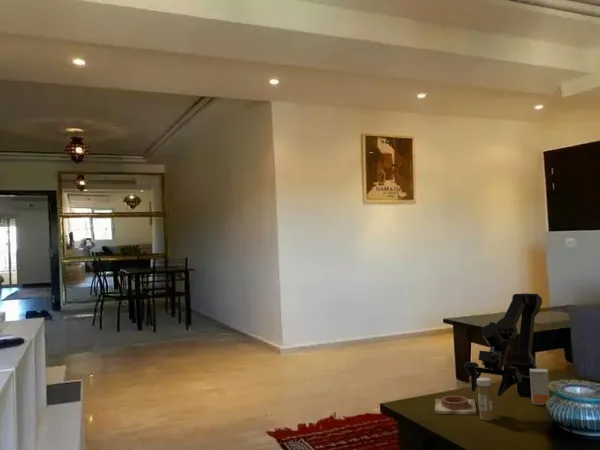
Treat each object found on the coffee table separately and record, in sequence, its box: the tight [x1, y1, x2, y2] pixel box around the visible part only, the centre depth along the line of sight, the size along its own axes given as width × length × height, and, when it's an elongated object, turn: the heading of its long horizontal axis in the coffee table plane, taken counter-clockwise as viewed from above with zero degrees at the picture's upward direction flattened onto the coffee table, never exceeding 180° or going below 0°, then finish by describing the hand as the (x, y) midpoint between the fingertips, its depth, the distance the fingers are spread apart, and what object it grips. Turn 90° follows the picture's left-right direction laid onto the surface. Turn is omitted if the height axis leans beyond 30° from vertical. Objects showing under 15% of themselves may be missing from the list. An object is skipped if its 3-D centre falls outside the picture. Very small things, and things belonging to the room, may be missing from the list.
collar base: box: [434, 395, 478, 415], centre depth 191 cm, size 14×14×3 cm
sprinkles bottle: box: [477, 376, 494, 422], centre depth 178 cm, size 5×5×13 cm
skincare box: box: [530, 368, 551, 406], centre depth 190 cm, size 6×4×12 cm
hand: (485, 393), depth 178 cm, fingers open, 9 cm apart
